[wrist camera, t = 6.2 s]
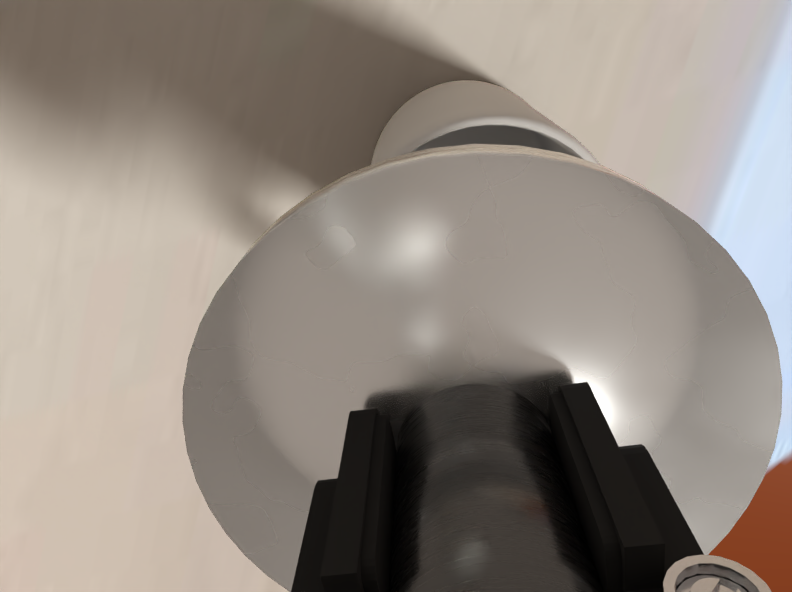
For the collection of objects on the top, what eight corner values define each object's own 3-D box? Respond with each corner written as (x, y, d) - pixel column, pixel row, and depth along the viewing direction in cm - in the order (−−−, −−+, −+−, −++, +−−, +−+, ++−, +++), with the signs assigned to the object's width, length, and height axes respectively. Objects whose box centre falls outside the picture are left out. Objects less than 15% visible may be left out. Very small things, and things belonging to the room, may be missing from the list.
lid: (118, 200, 11) (-168, 364, 6) (782, 89, 10) (1221, 164, 5) (276, 625, 16) (202, 934, 11) (736, 586, 15) (921, 911, 9)
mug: (440, 38, 26) (455, 45, 16) (590, 149, 27) (690, 220, 17) (303, 253, 30) (246, 366, 20) (440, 337, 32) (451, 480, 22)
